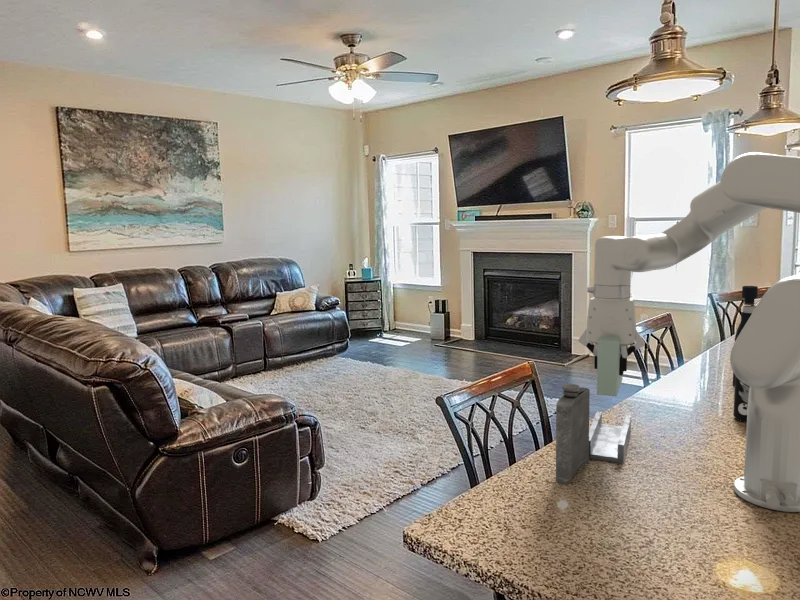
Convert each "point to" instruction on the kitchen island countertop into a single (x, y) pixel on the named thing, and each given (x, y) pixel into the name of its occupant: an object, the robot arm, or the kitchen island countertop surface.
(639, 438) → the kitchen island countertop surface
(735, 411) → the beverage can
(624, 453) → the strip
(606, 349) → the door panel
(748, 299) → the wine bottle
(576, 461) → the flask
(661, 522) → the kitchen island countertop surface
